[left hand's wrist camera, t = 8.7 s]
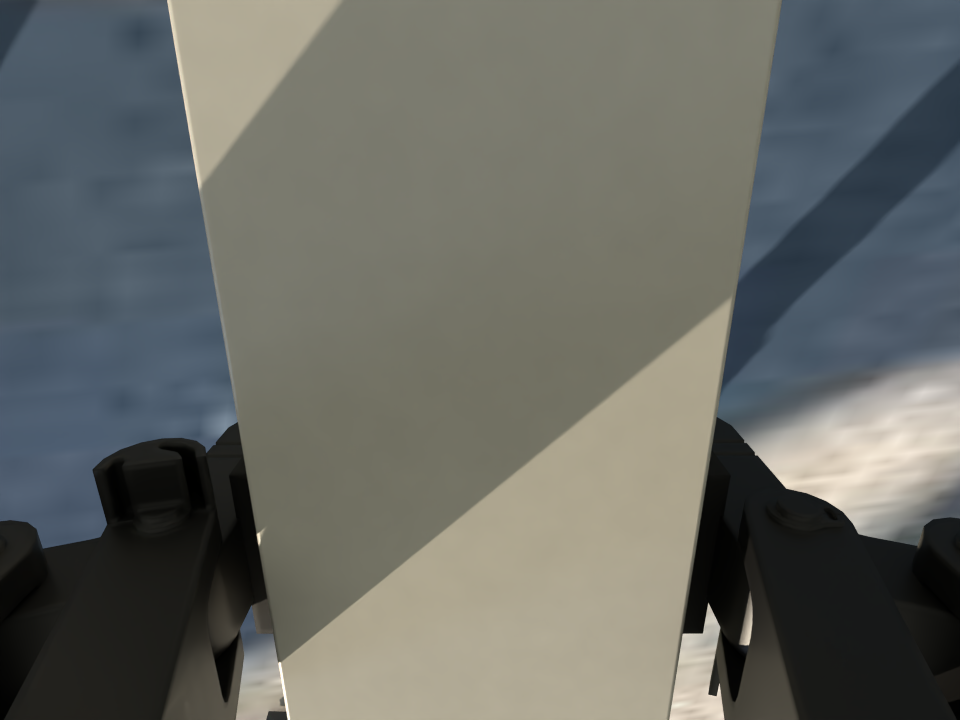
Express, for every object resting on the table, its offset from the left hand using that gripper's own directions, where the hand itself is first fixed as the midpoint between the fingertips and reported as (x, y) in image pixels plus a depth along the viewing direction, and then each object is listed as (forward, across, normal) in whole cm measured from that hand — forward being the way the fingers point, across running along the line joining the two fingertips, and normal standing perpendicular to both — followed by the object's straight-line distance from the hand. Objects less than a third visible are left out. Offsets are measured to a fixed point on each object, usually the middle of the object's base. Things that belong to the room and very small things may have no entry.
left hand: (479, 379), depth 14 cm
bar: (+1, 0, -26) cm, 26 cm away
